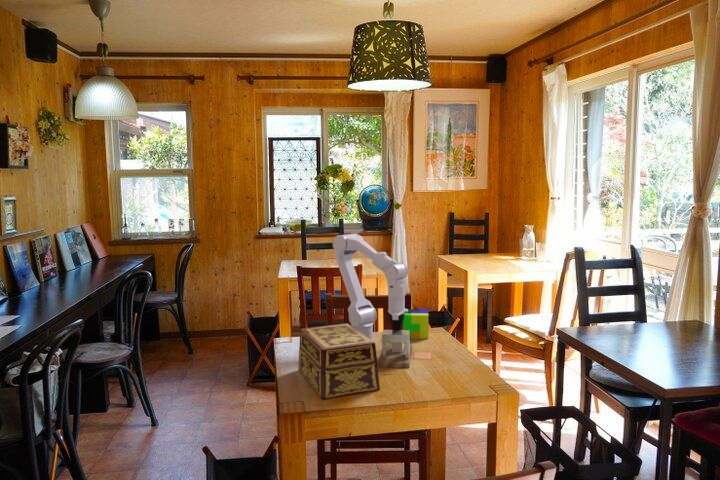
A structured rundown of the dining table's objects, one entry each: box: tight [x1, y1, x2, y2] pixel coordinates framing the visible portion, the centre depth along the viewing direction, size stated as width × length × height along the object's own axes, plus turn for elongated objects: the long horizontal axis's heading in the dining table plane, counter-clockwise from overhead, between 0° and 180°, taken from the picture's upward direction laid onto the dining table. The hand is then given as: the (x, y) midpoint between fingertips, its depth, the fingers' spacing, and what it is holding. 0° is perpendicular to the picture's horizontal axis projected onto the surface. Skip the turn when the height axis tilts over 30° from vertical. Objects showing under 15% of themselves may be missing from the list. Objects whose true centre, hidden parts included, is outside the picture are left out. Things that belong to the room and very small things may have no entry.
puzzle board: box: [379, 344, 413, 369], centre depth 197 cm, size 10×20×2 cm, turn 172°
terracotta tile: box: [413, 351, 432, 360], centre depth 199 cm, size 6×7×1 cm
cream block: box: [391, 342, 404, 352], centre depth 201 cm, size 4×4×7 cm
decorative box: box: [297, 322, 381, 401], centre depth 178 cm, size 28×19×15 cm
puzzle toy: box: [402, 308, 430, 340], centre depth 225 cm, size 10×10×10 cm
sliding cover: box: [381, 329, 411, 359], centre depth 194 cm, size 9×6×8 cm, turn 82°
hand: (397, 334), depth 198 cm, fingers closed
